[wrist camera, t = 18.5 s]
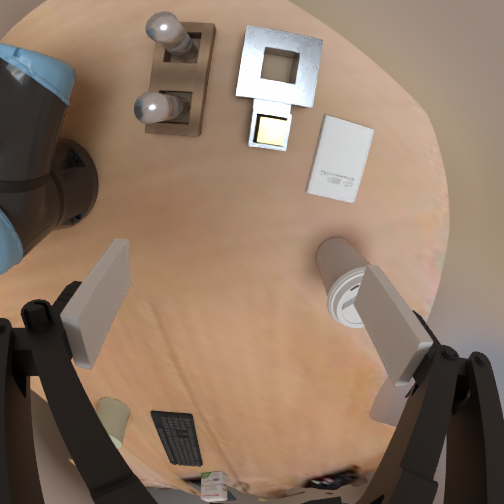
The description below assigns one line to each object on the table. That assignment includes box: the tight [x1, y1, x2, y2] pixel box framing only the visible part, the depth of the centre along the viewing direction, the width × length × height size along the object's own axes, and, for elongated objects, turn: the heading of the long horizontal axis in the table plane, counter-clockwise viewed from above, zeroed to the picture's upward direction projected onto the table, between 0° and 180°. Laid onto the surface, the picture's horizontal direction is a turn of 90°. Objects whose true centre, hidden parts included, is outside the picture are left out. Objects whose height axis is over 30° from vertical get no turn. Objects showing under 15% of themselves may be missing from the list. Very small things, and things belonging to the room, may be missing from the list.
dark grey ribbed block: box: [151, 411, 203, 467], centre depth 79 cm, size 35×11×2 cm, turn 178°
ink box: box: [201, 471, 227, 502], centre depth 87 cm, size 8×5×12 cm, turn 113°
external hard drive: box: [306, 115, 374, 203], centre depth 45 cm, size 2×8×12 cm
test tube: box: [134, 92, 190, 124], centre depth 33 cm, size 3×3×16 cm
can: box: [96, 398, 130, 449], centre depth 65 cm, size 9×9×12 cm
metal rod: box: [146, 12, 198, 62], centre depth 29 cm, size 3×3×16 cm
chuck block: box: [236, 26, 323, 151], centre depth 38 cm, size 10×16×5 cm, turn 172°
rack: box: [145, 22, 216, 136], centre depth 36 cm, size 16×7×4 cm, turn 172°
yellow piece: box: [254, 116, 287, 146], centre depth 39 cm, size 3×3×6 cm
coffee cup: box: [316, 237, 385, 328], centre depth 46 cm, size 10×10×15 cm
